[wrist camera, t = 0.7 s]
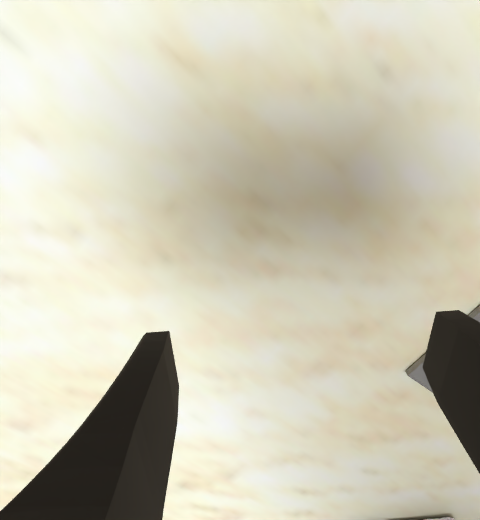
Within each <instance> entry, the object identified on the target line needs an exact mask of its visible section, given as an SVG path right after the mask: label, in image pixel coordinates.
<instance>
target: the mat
mask: <svg viewBox="0 0 480 520" xmlns="http://www.w3.org/2000/svg"><path fill="white" fill-rule="evenodd" d="M468 316H470V317H471V318H473V319H475V320H476V321H478V322H480V305H479V306H478V307H477V308H476V309H475V310H474V311H473V312H471V313H470V314H469V315H468ZM425 355H426V353H425V354H424V355H423V356H422V357H421V358H420V359H418V360H417V361H416V362H415V363H414V364H413V365H412V366H411V367H409V368H408V369H407V370H406V373H407V375H408V376H409V377H411V378H412V379H414V380H415V381H417V382H418V383H420V384H421V385H422V386H424V387H425V388H427V389H428V390H430V391H431V392H433V391H432V389H431V387H430V385H429V382H428V380H427V377H426V375H425V372H424V370H423V363H424V359H425Z"/></svg>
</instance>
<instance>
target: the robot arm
mask: <svg viewBox="0 0 480 520" xmlns="http://www.w3.org/2000/svg"><path fill="white" fill-rule="evenodd" d="M423 370H424V372H425V375H426V377H427V380H428V382H429V385H430V387H431V389H432V391H433V394H434V396H435V398H436V400H437V402H438V404H439V406H440V408H441V409H442V411H443V413H444V415H445V416H446V418H447V420H448V421H449V423H450V425H451V426H452V428H453V430H454V432H455V433H456V435H457V437H458V438H459V440H460V442H461V443H462V445H463V447H464V448H465V450H466V452H467V453H468V455H469V457H470V458H471V460H472V462H473V463H474V465H475V467H476V468H477V470H478V472H479V473H480V322H478V321H476V320H475V319H473V318H471V317H470V316H468V315H466V314H464V313H463V312H461V311H459V310H455V311H441V312H436V315H435V319H434V323H433V327H432V331H431V335H430V339H429V343H428V347H427V351H426V355H425V359H424V363H423ZM178 396H179V383H178V378H177V372H176V366H175V361H174V355H173V349H172V344H171V338H170V332H169V331H164V332H151V333H146V334H145V335H144V336H143V337H142V339H141V340H140V342H139V344H138V345H137V347H136V349H135V350H134V352H133V354H132V355H131V357H130V358H129V360H128V361H127V363H126V364H125V366H124V368H123V369H122V371H121V372H120V374H119V375H118V376H117V378H116V379H115V381H114V382H113V384H112V385H111V386H110V388H109V389H108V391H107V392H106V394H105V395H104V396H103V398H102V399H101V400H100V402H99V403H98V404H97V406H96V407H95V408H94V410H93V411H92V412H91V413H90V415H89V416H88V417H87V419H86V420H85V421H84V422H83V424H82V425H81V426H80V427H79V429H78V430H77V431H76V432H75V433H74V435H73V436H72V437H71V438H70V439H69V441H68V442H67V443H66V444H65V445H64V446H63V447H62V449H61V450H60V451H59V452H58V453H57V454H56V455H55V456H54V457H53V459H52V460H51V461H50V462H49V463H48V464H47V465H46V466H45V467H44V468H43V469H42V470H41V471H40V472H39V473H38V474H37V475H36V476H35V478H34V479H33V480H32V481H31V482H30V483H29V484H28V485H27V486H26V487H25V488H24V489H23V490H22V491H21V492H20V493H19V494H18V495H17V496H16V497H15V498H14V499H13V500H12V501H11V502H10V503H9V504H8V505H6V506H5V507H4V508H3V509H2V510H1V511H0V520H162V517H163V509H164V502H165V496H166V490H167V484H168V477H169V471H170V465H171V459H172V453H173V446H174V440H175V433H176V427H177V417H178ZM425 520H455V519H454V518H451V517H445V518H435V519H425Z"/></svg>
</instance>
